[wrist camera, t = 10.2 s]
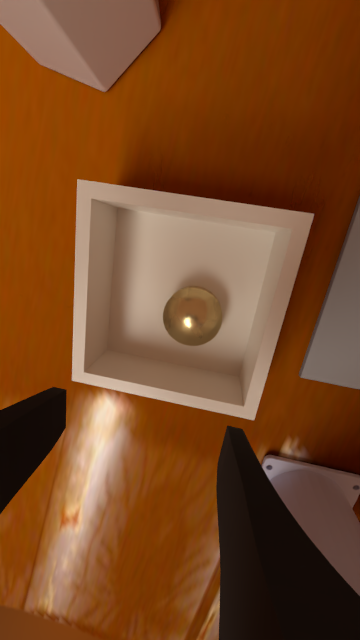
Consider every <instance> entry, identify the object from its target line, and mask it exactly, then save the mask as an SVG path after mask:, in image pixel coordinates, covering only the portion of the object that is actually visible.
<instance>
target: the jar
mask: <svg viewBox="0 0 360 640" xmlns="http://www.w3.org/2000/svg"><path fill="white" fill-rule="evenodd" d="M0 24H1V25H2V26H3V27H4V28H5V29H6V30H7V31H8V32H9V33H10V34H11V35H12V36H13V37H14V38H15V39H16V40H17V41H18V43H19V44H20V45H21V46H22V47H23V48H24V49H25V50H26V51H27V52H28V53H29V54H30V55H31V56H32V57H33V58H34V59H35V60H36V61H37V62H38V63H39V64H40V65H42V66H45V67H47V68H49V69H52V70H54V71H56V72H59V73H61V74H63V75H66V76H68V77H70V78H73V79H75V80H77V81H80V82H82V83H84V84H87V85H89V86H91V87H93V88H96V89H98V90H100V91H103V92H106V91H108V89H109V88H110V87H111V86H112V85H113V84H114V83H115V81H116V80H117V79H118V78H119V77H120V76H121V75H122V73H123V72H124V71H125V70H126V69H127V68H128V67H129V65H130V64H131V63H132V62H133V61H134V60H135V59H136V57H137V56H138V55H139V54H140V53H141V52H142V51H143V50H144V48H145V47H146V46H147V45H148V44H149V43H150V42H151V41H152V39H153V38H154V37H155V36H156V35H157V34H158V33H159V31H160V29H161V19H160V10H159V2H158V0H0Z"/></svg>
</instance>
